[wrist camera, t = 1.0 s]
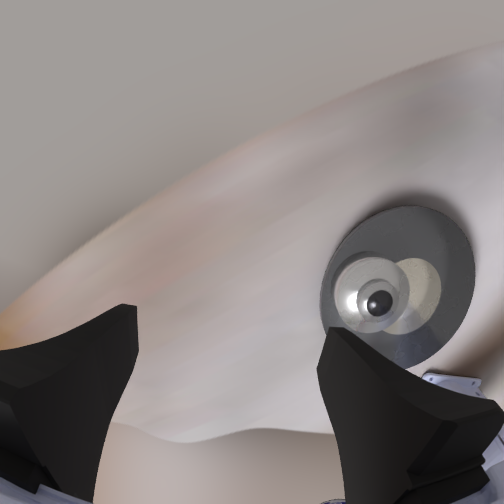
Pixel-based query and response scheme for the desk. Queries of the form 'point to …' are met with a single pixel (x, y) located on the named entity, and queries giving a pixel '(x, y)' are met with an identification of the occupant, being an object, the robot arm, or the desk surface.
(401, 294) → the cover
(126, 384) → the robot arm
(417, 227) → the turntable
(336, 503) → the energy drink
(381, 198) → the desk surface
